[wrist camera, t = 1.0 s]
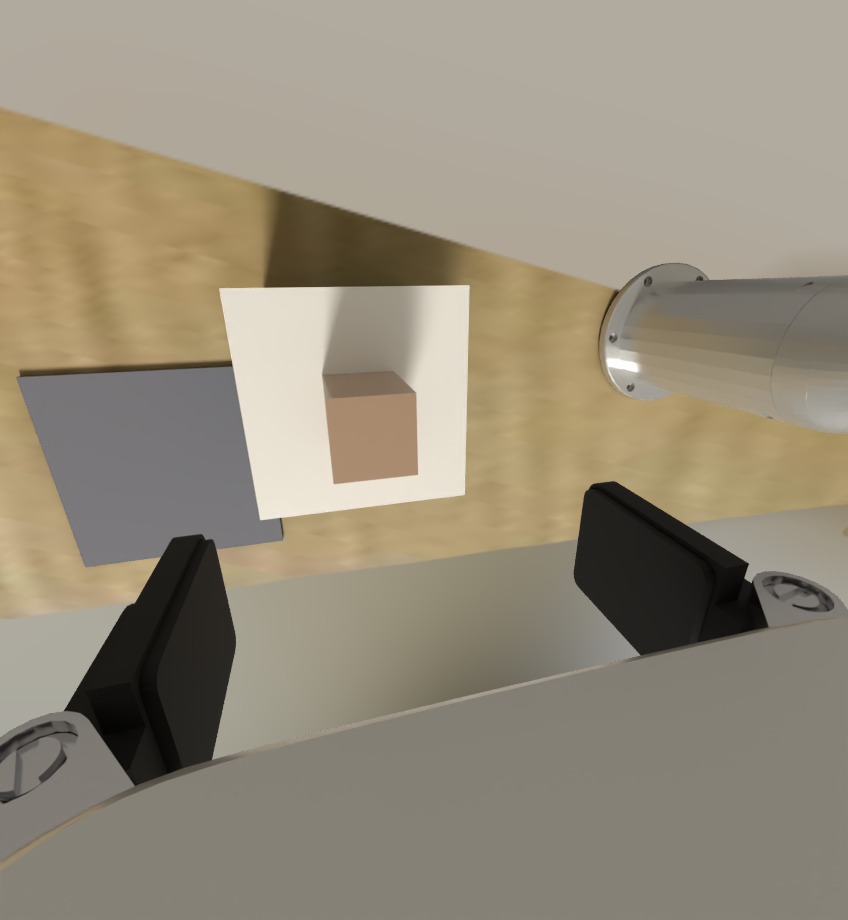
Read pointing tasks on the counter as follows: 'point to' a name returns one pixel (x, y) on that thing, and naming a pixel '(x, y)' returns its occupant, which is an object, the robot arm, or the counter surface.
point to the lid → (350, 393)
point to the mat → (148, 459)
